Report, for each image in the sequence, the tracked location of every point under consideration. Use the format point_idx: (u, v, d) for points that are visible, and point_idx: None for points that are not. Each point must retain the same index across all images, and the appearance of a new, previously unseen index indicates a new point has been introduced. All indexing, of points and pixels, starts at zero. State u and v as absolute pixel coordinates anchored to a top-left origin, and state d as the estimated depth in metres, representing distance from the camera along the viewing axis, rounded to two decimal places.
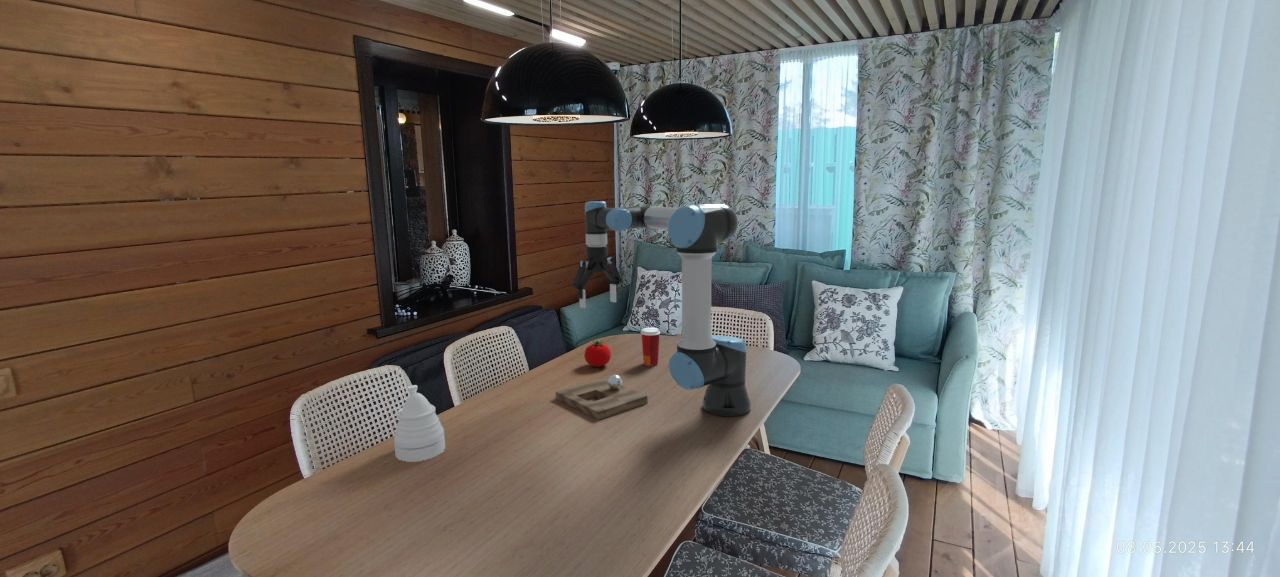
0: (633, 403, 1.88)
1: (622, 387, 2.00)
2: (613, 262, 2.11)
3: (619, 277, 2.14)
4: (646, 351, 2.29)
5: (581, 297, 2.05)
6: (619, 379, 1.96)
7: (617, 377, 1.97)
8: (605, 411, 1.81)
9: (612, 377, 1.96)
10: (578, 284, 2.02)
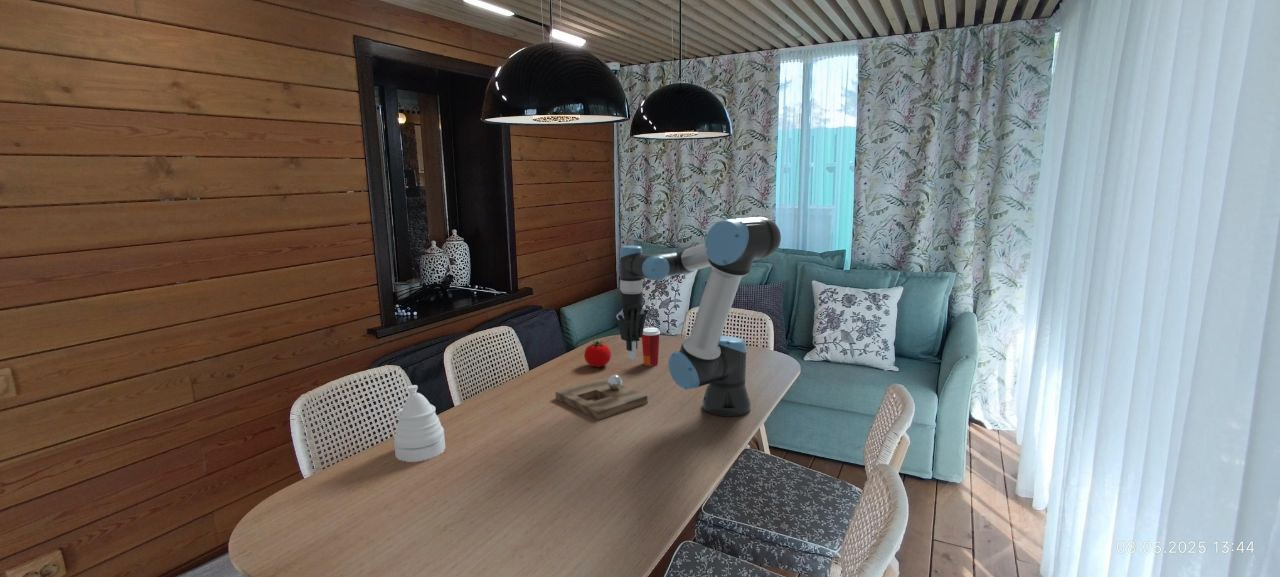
0: (633, 403, 1.88)
1: (622, 387, 2.00)
2: (645, 314, 2.02)
3: (641, 332, 2.02)
4: (646, 351, 2.29)
5: (630, 349, 2.00)
6: (619, 379, 1.96)
7: (617, 377, 1.97)
8: (605, 411, 1.81)
9: (612, 377, 1.96)
10: (626, 336, 1.97)
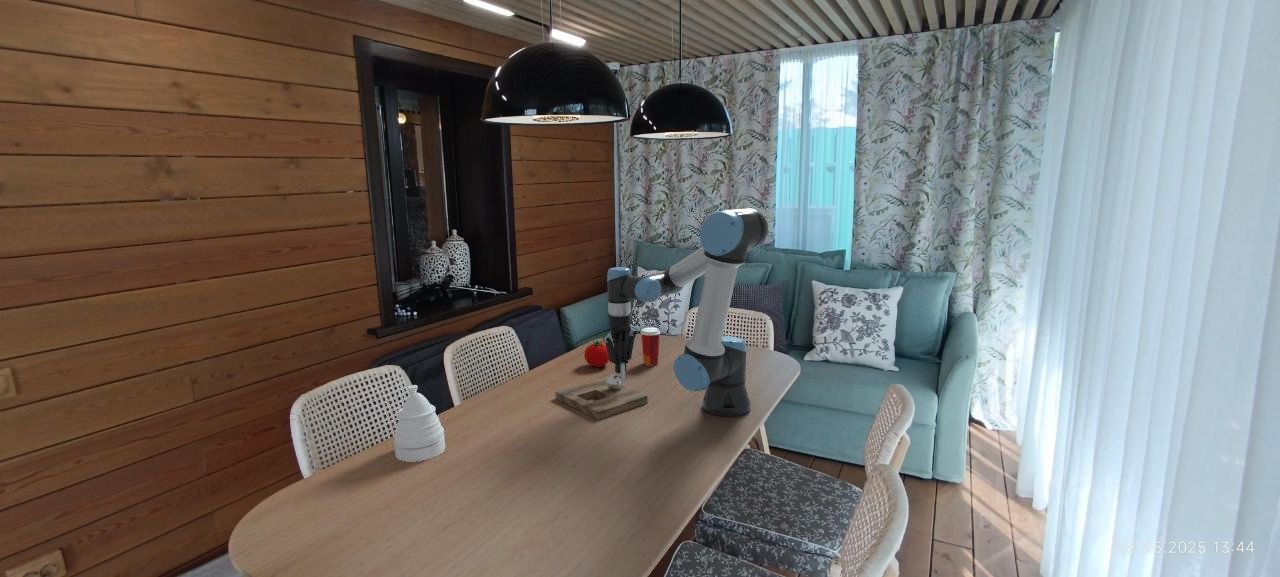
0: (633, 403, 1.88)
1: (622, 387, 2.00)
2: (634, 336, 1.99)
3: (630, 354, 1.99)
4: (646, 351, 2.29)
5: (619, 371, 1.98)
6: (618, 379, 1.96)
7: (615, 377, 1.96)
8: (605, 411, 1.81)
9: (610, 378, 1.96)
10: (614, 359, 1.95)
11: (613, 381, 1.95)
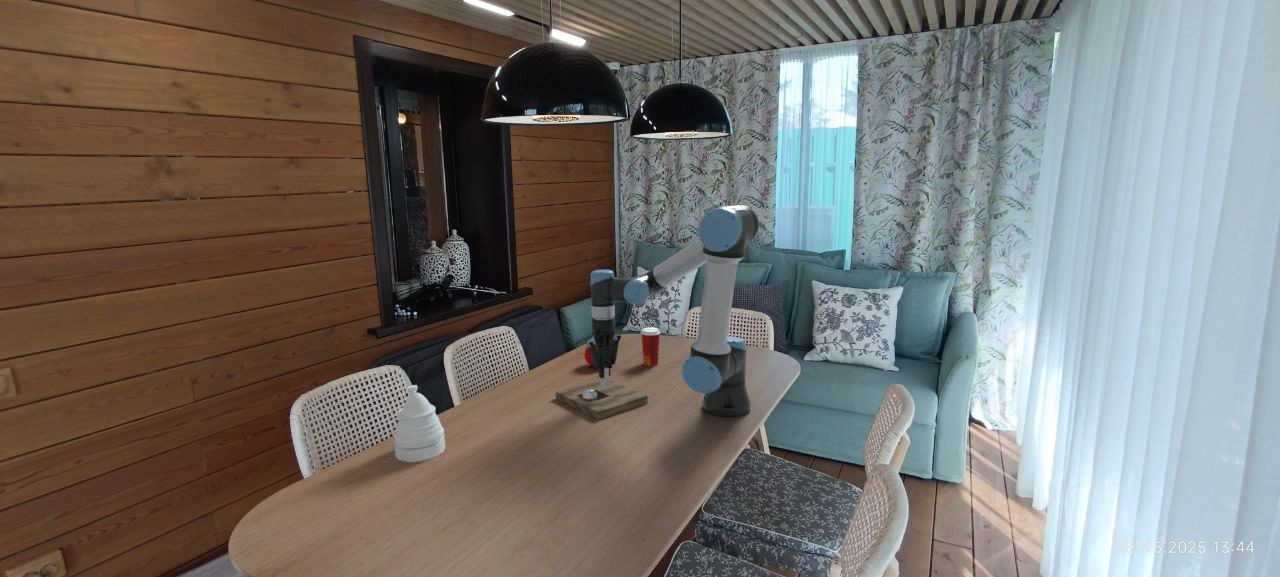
0: (633, 403, 1.88)
1: (622, 387, 2.00)
2: (618, 340, 1.95)
3: (614, 359, 1.95)
4: (646, 351, 2.29)
5: (602, 376, 1.93)
6: (596, 400, 1.91)
7: (596, 398, 1.92)
8: (605, 411, 1.81)
9: None
10: (598, 364, 1.91)
11: None
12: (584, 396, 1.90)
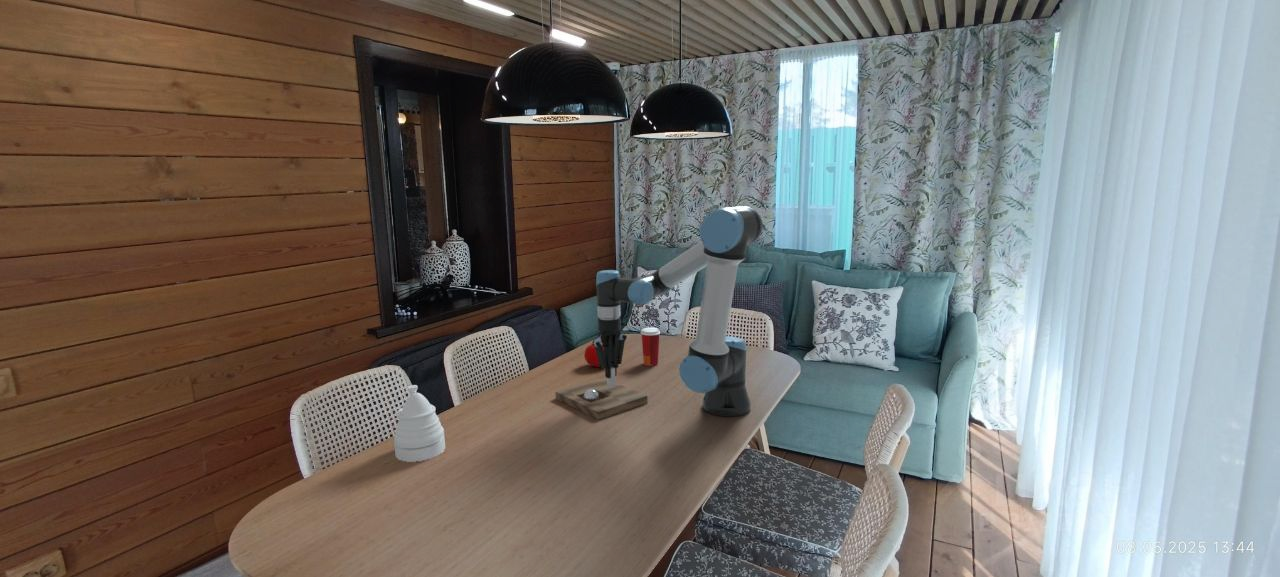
0: (633, 403, 1.88)
1: (622, 387, 2.00)
2: (624, 340, 1.96)
3: (620, 358, 1.96)
4: (646, 351, 2.29)
5: (609, 376, 1.95)
6: None
7: None
8: (605, 411, 1.81)
9: None
10: (605, 364, 1.92)
11: (598, 396, 1.92)
12: (586, 395, 1.90)
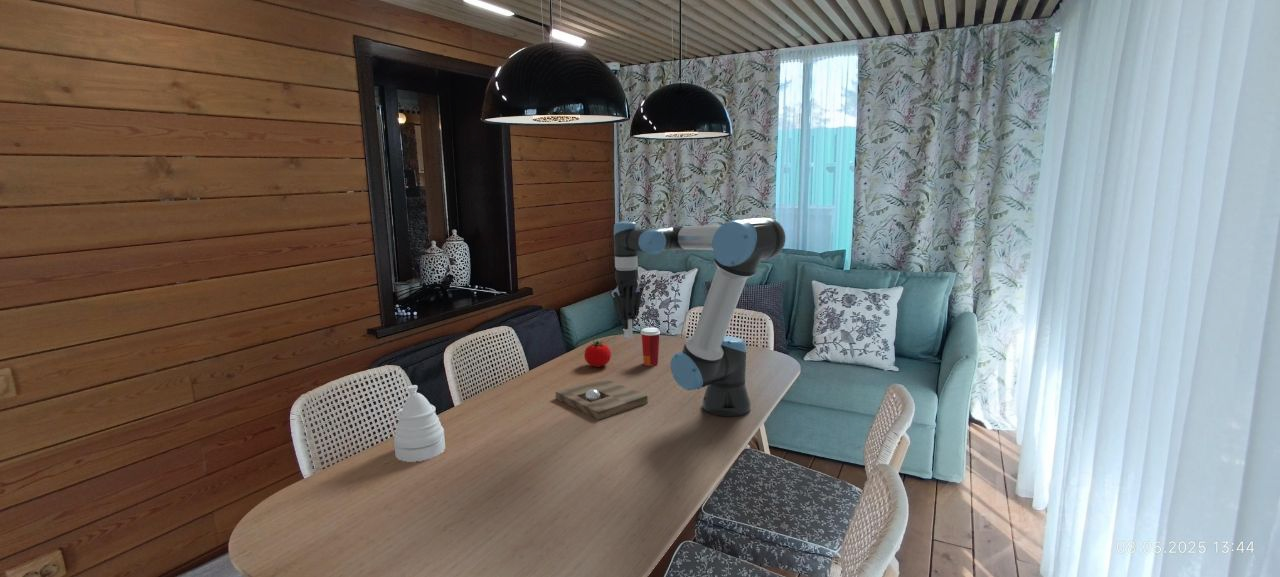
0: (633, 403, 1.88)
1: (622, 387, 2.00)
2: (641, 292, 1.99)
3: (637, 310, 1.98)
4: (646, 351, 2.29)
5: (626, 327, 1.97)
6: None
7: None
8: (605, 411, 1.81)
9: None
10: (622, 314, 1.94)
11: None
12: (588, 394, 1.90)
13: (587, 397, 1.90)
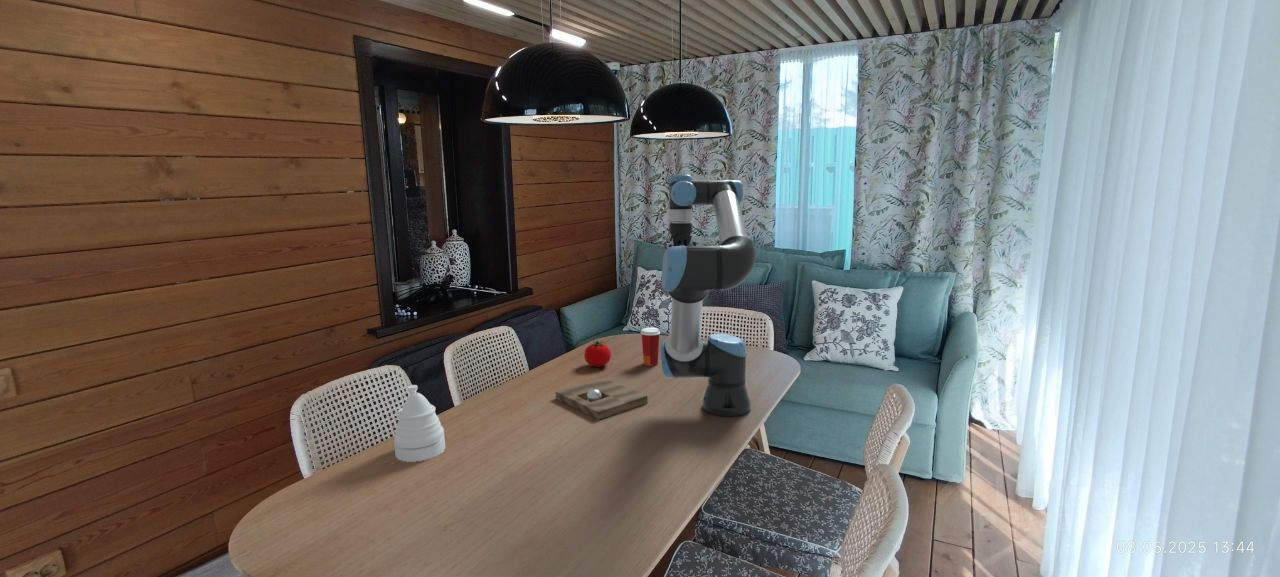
0: (633, 403, 1.88)
1: (622, 387, 2.00)
2: None
3: None
4: (646, 351, 2.29)
5: None
6: None
7: None
8: (605, 411, 1.81)
9: None
10: None
11: (601, 398, 1.92)
12: (590, 393, 1.90)
13: (589, 396, 1.90)
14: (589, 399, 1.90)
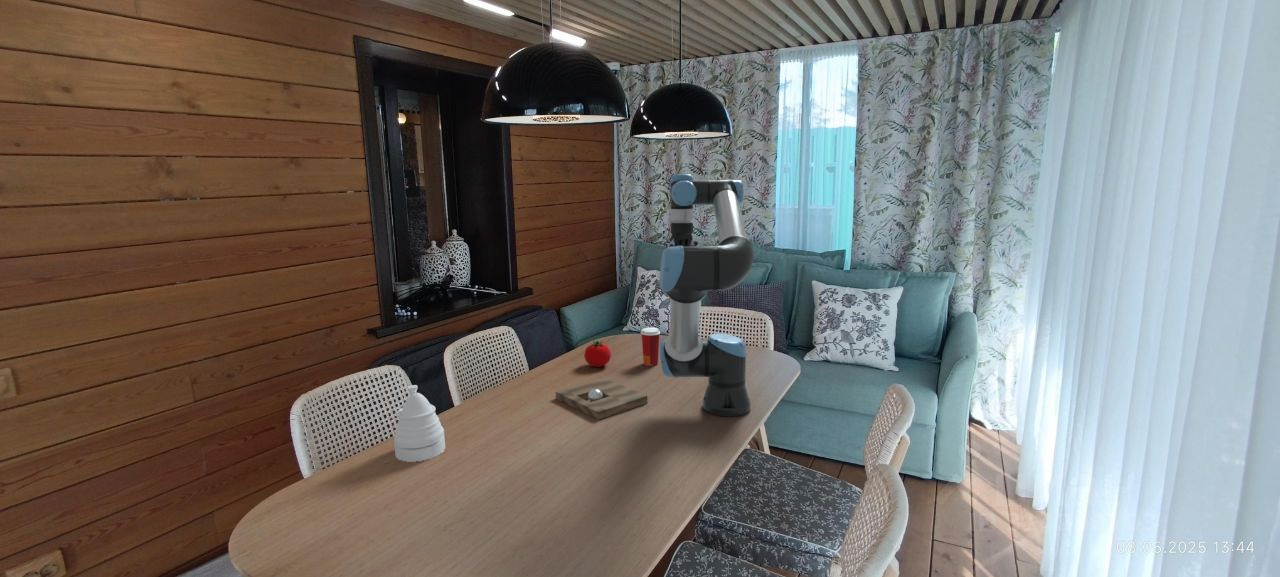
0: (633, 403, 1.88)
1: (622, 387, 2.00)
2: (695, 246, 1.99)
3: None
4: (646, 351, 2.29)
5: None
6: None
7: None
8: (605, 411, 1.81)
9: None
10: None
11: None
12: (592, 392, 1.90)
13: (590, 395, 1.90)
14: (590, 398, 1.90)
